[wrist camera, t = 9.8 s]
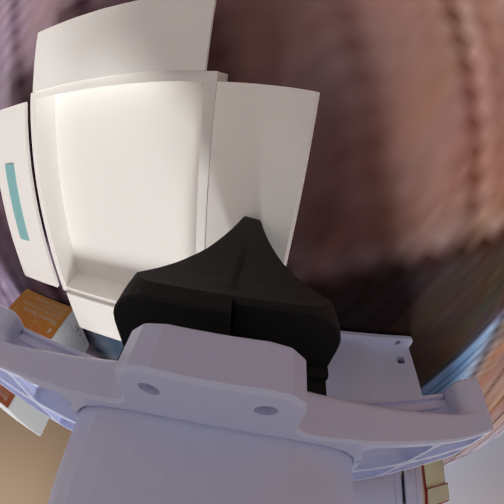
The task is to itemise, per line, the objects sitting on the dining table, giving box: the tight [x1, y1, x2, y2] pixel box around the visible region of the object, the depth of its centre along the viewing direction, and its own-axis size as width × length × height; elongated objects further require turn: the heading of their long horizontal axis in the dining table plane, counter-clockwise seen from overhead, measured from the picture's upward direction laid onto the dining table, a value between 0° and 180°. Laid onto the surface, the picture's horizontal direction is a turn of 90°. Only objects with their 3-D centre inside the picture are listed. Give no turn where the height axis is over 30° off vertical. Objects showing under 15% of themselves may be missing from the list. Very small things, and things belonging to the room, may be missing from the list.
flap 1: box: [0, 102, 59, 288], centre depth 14 cm, size 4×14×1 cm, turn 174°
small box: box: [0, 289, 89, 436], centre depth 19 cm, size 8×6×13 cm
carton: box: [30, 0, 228, 341], centre depth 15 cm, size 12×23×2 cm, turn 174°
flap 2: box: [206, 82, 320, 266], centre depth 13 cm, size 4×14×1 cm
